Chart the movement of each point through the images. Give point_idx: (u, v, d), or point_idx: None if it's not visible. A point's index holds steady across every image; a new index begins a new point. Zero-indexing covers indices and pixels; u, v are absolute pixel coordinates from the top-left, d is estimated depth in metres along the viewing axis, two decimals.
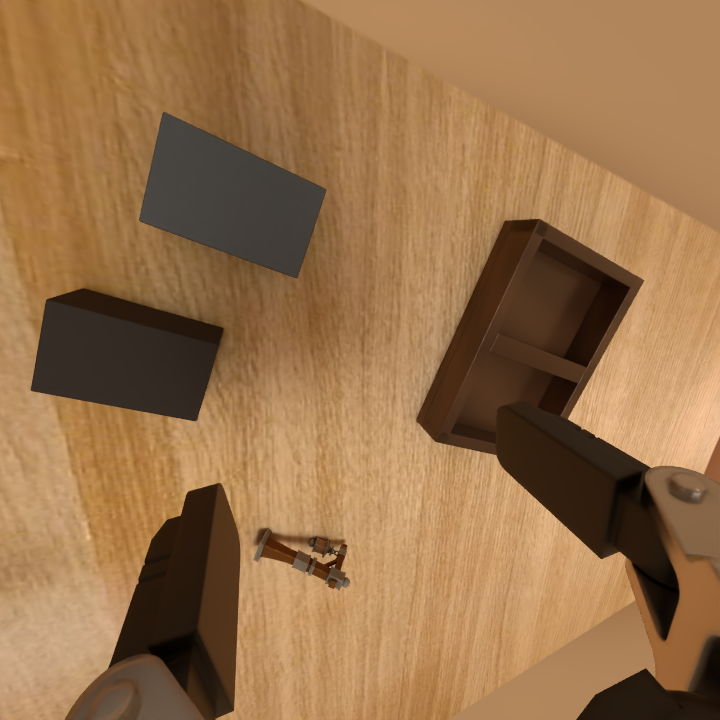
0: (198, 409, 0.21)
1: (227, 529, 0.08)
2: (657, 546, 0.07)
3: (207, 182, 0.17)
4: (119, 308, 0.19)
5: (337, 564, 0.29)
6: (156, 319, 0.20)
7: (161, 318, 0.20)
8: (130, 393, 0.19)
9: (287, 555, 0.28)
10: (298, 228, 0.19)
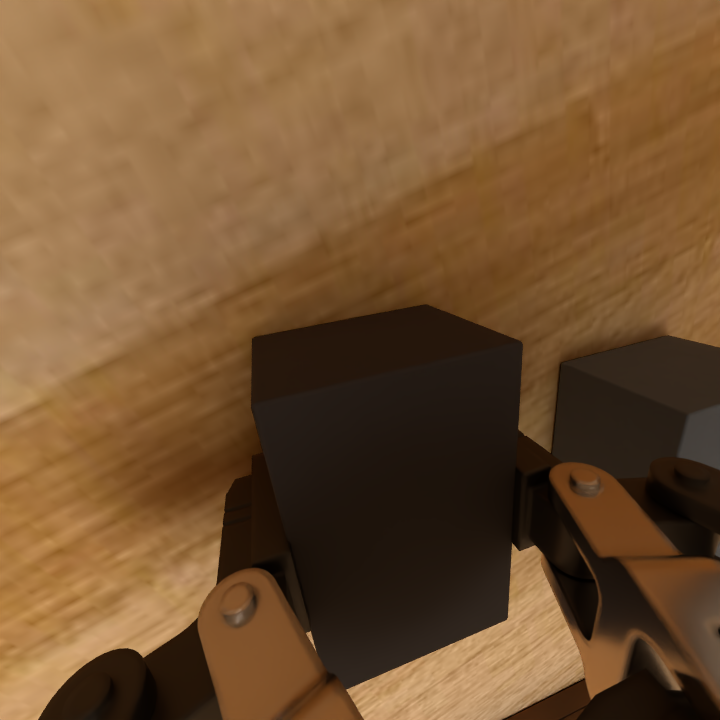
0: (360, 681, 0.08)
1: None
2: (558, 538, 0.07)
3: None
4: None
5: None
6: None
7: None
8: (348, 578, 0.07)
9: None
10: None
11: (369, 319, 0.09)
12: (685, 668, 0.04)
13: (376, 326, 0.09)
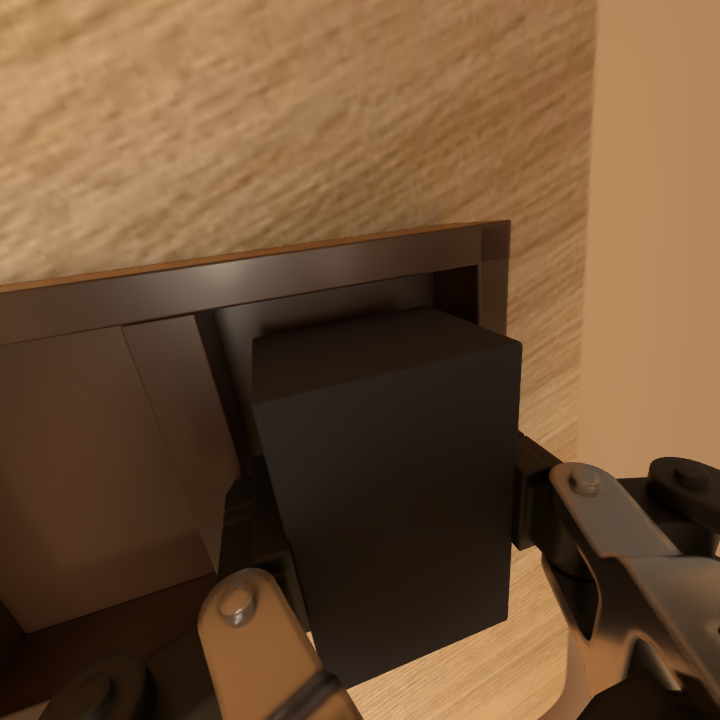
0: (360, 682, 0.08)
1: None
2: (559, 538, 0.07)
3: None
4: None
5: None
6: None
7: None
8: (348, 579, 0.07)
9: None
10: None
11: (369, 320, 0.09)
12: (685, 668, 0.04)
13: (376, 327, 0.09)
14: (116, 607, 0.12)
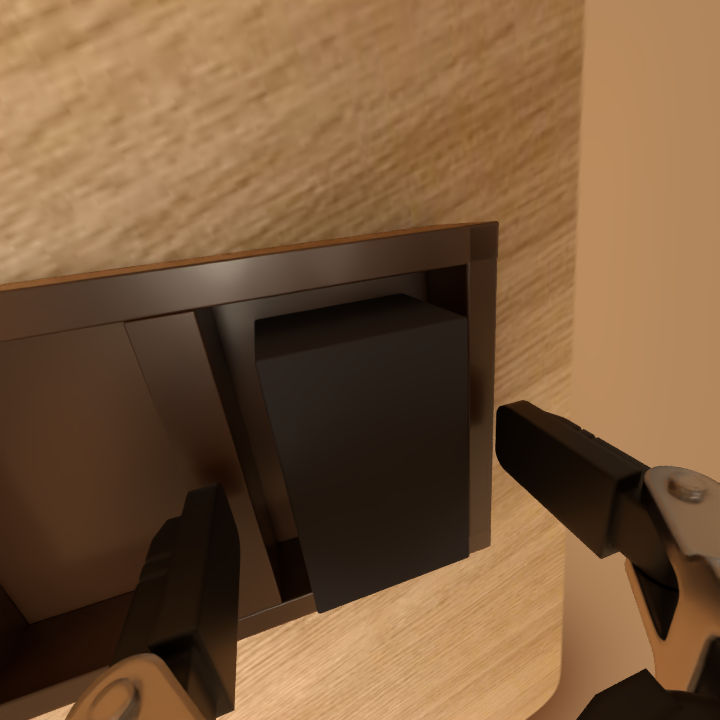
0: (344, 603, 0.10)
1: (227, 529, 0.08)
2: (656, 545, 0.07)
3: None
4: None
5: None
6: None
7: None
8: (332, 509, 0.09)
9: None
10: None
11: (352, 305, 0.11)
12: None
13: (357, 310, 0.10)
14: (117, 598, 0.12)
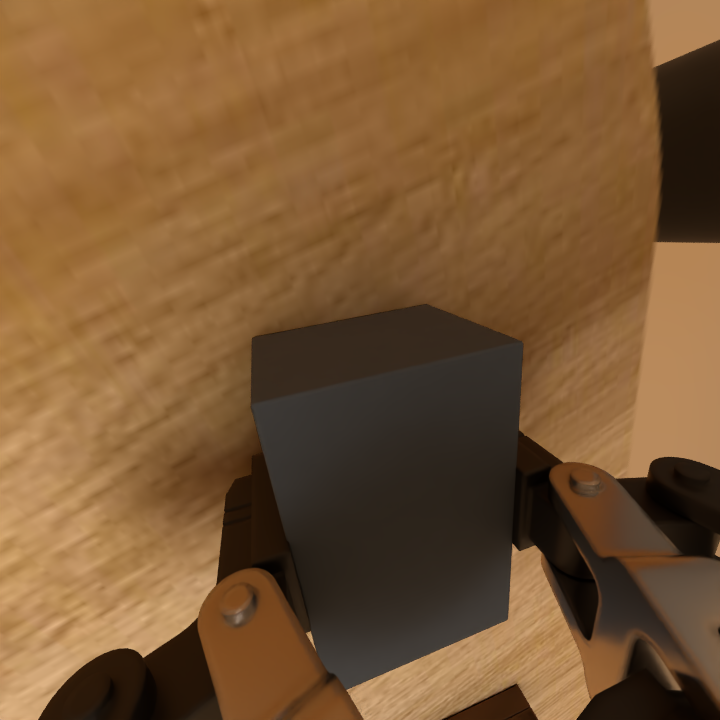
0: None
1: None
2: (559, 537, 0.07)
3: (428, 477, 0.07)
4: None
5: None
6: None
7: None
8: None
9: None
10: (425, 636, 0.09)
11: None
12: (685, 668, 0.04)
13: None
14: None
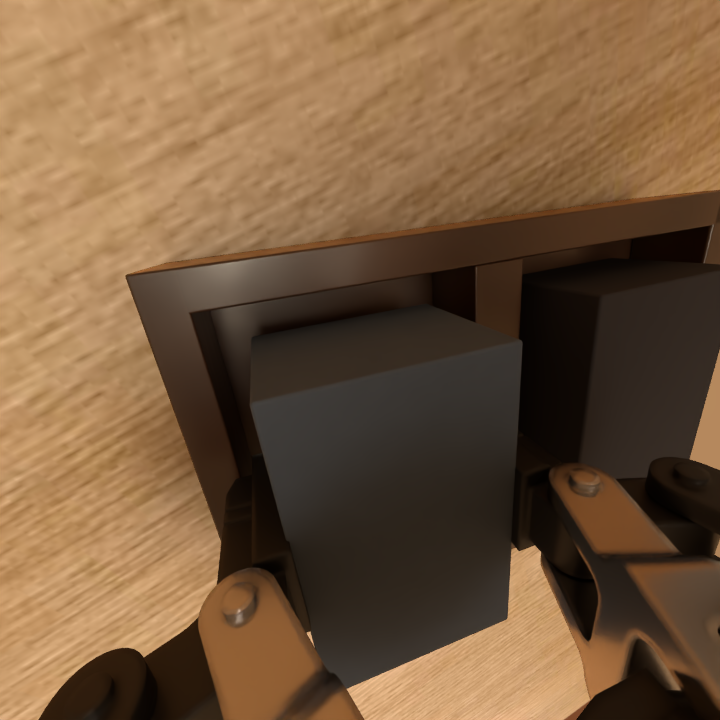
0: None
1: None
2: (558, 537, 0.07)
3: (427, 476, 0.07)
4: None
5: None
6: None
7: None
8: (609, 433, 0.10)
9: None
10: (424, 636, 0.09)
11: (581, 266, 0.12)
12: (685, 668, 0.04)
13: (598, 268, 0.12)
14: None
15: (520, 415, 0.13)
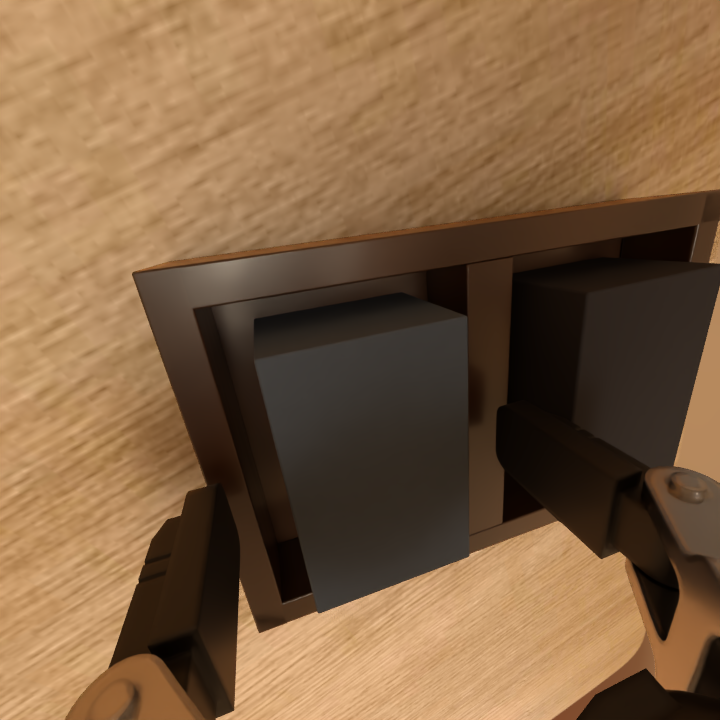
0: None
1: (227, 529, 0.08)
2: (656, 546, 0.07)
3: (394, 425, 0.09)
4: None
5: None
6: None
7: None
8: (597, 426, 0.11)
9: None
10: (397, 565, 0.10)
11: (573, 265, 0.13)
12: None
13: (588, 266, 0.12)
14: None
15: None
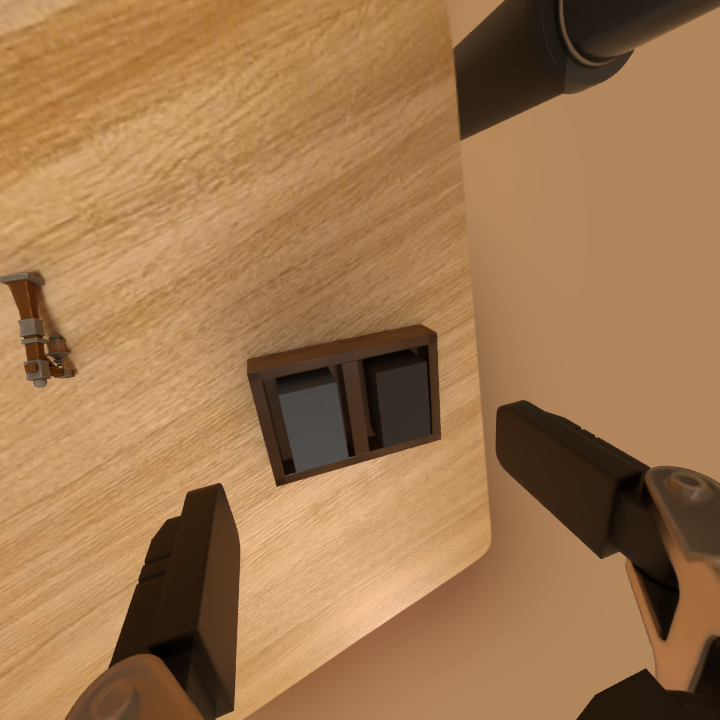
0: (391, 445, 0.34)
1: (227, 529, 0.08)
2: (657, 546, 0.07)
3: (317, 412, 0.30)
4: None
5: (52, 368, 0.25)
6: None
7: None
8: (390, 413, 0.32)
9: (30, 309, 0.24)
10: (322, 458, 0.32)
11: (393, 354, 0.34)
12: None
13: (395, 356, 0.34)
14: None
15: (372, 408, 0.35)
